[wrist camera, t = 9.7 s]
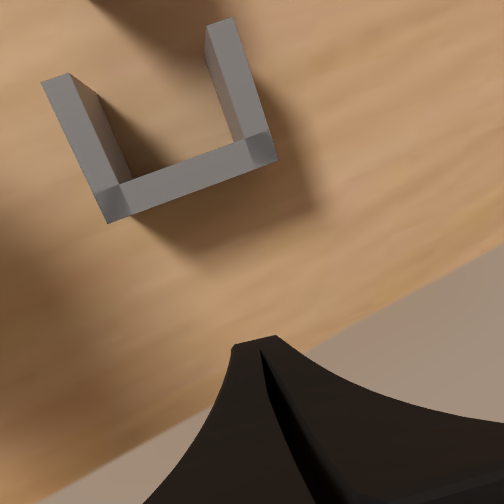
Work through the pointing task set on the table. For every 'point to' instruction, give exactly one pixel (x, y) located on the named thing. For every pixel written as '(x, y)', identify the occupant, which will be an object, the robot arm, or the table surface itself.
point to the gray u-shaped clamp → (183, 173)
